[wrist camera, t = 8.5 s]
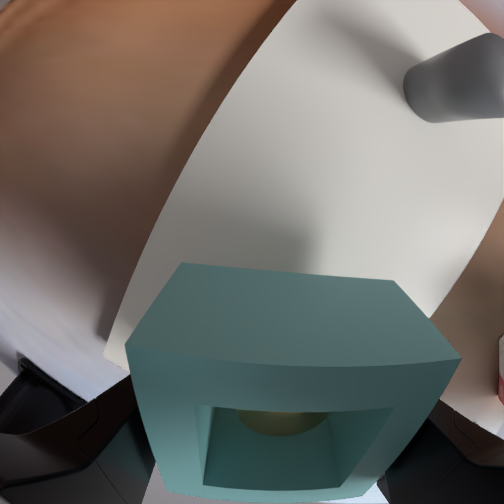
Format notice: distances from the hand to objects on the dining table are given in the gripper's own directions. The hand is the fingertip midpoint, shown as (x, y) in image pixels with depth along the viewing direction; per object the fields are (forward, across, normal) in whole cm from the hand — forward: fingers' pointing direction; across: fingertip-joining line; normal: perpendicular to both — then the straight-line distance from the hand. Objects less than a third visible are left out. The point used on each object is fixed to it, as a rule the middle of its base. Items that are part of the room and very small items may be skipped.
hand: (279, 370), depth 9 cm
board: (+4, -2, -5) cm, 7 cm away
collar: (0, 0, 0) cm, 0 cm away
